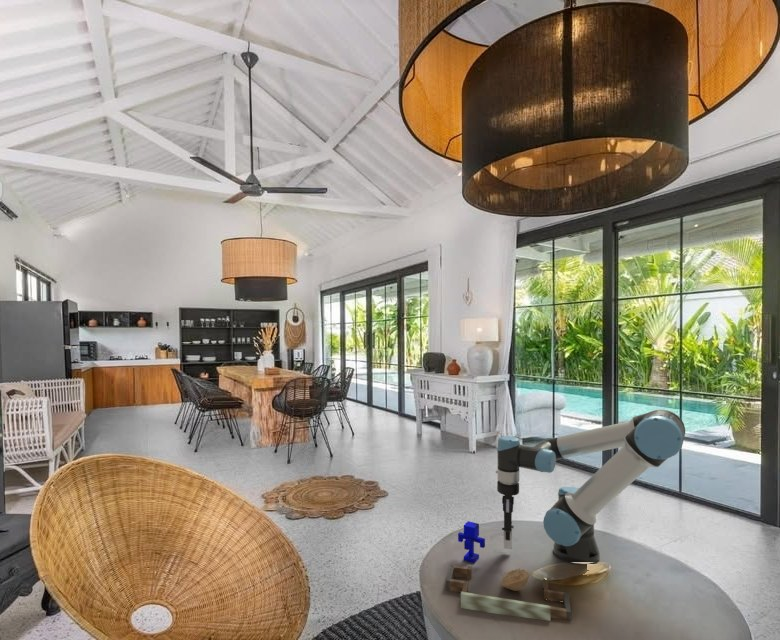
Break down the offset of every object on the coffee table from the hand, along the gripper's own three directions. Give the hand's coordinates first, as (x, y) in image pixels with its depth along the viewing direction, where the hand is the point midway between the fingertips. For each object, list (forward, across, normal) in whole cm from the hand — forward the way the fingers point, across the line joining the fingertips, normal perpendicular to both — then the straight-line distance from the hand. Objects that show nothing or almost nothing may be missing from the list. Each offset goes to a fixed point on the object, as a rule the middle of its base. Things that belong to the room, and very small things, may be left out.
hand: (507, 547), depth 164 cm
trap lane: (+2, +22, 0) cm, 22 cm away
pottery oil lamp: (+2, +22, +3) cm, 22 cm away
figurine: (+2, +8, -12) cm, 14 cm away
